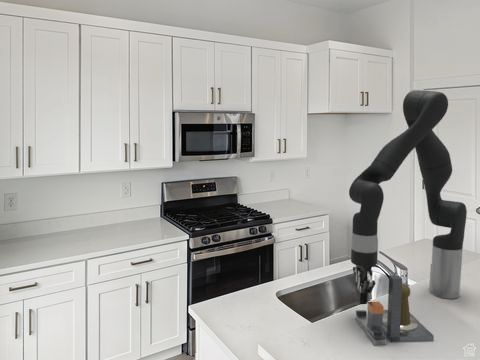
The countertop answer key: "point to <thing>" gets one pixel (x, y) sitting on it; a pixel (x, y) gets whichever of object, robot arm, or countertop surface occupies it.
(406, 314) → the cork
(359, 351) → the countertop surface
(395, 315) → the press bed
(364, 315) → the lever rail
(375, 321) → the lever
